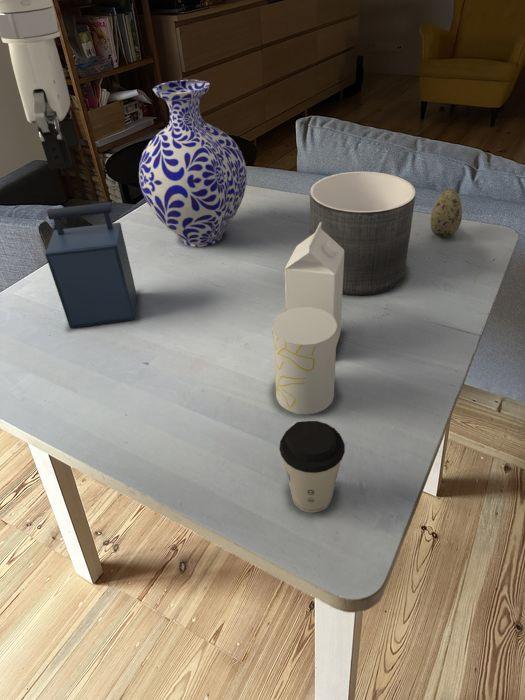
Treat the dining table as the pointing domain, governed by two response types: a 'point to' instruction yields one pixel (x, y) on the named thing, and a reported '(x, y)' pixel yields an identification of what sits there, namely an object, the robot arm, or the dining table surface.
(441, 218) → the decorative egg
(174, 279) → the dining table surface
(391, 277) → the planter
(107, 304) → the blue drawer with handle
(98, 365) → the dining table surface
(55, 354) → the dining table surface
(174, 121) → the vase
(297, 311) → the cup
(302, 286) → the milk carton
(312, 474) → the coffee cup
